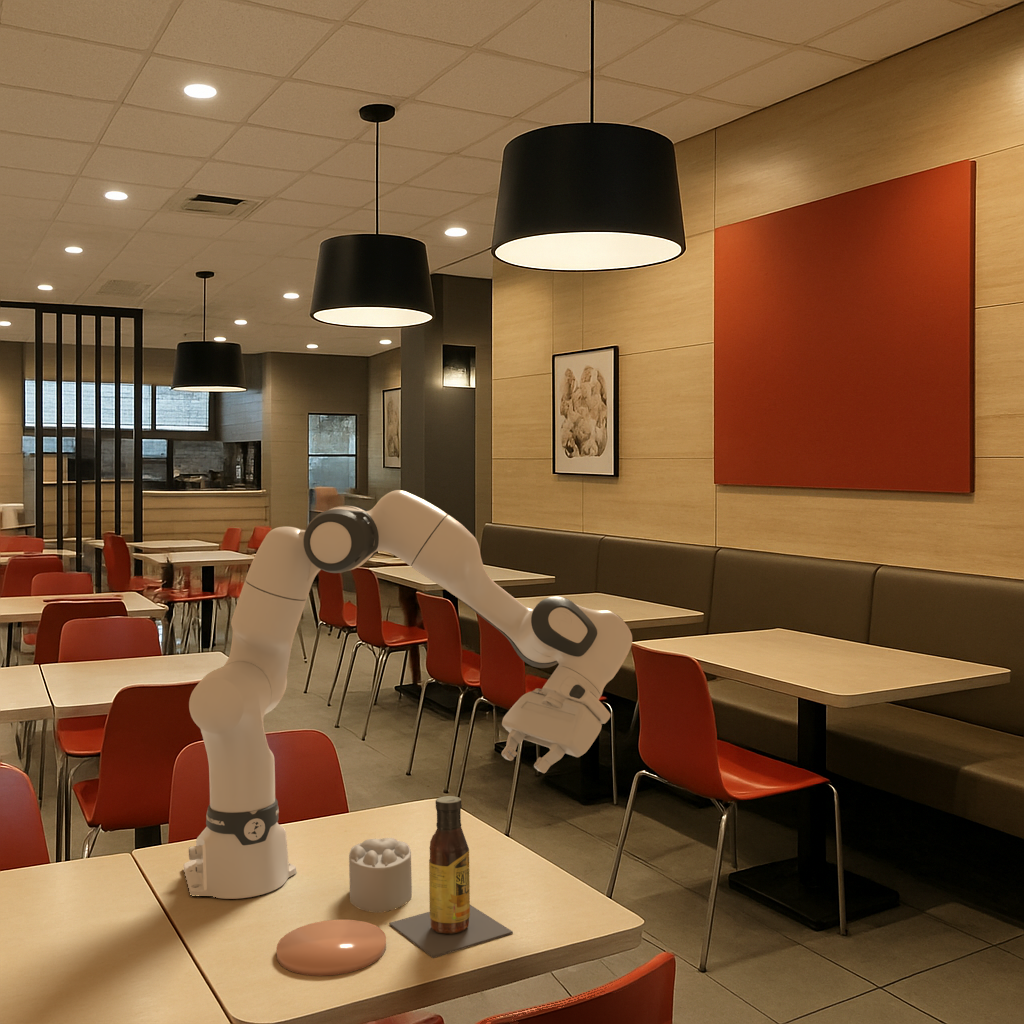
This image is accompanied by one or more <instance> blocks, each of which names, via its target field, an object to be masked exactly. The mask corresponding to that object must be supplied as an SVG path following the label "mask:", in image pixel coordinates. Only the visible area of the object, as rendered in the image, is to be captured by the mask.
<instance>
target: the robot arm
mask: <svg viewBox="0 0 1024 1024" xmlns="http://www.w3.org/2000/svg"><path fill="white" fill-rule="evenodd" d="M377 552H386V553H389V554H391V555H392V556H395V557H396V558H398V559H400V560H401V561H402V562H404V563H405V564H407V566H409V567H411V568H412V569H413V570H415V571H417V572H418V573H420V574H421V575H423V576H424V577H425V578H427V579H429V580H430V581H431V582H433V583H435V584H437V585H438V586H440V587H441V588H443V589H445V591H447V592H449V593H450V594H451V595H453V596H455V598H457V599H458V600H460V601H461V602H462V603H463V604H465V605H466V606H467V607H468V608H469V609H471V611H474V612H475V613H476V614H478V616H480V617H481V618H482V619H484V621H486V622H487V623H489V624H490V625H491V626H493V627H494V628H495V629H496V630H497V631H499V632H500V633H501V634H502V635H503V636H504V637H505V638H506V639H507V640H508V642H509V643H510V645H511V646H512V648H513V650H514V651H515V652H516V654H517V656H518V657H519V658H520V659H521V660H522V661H523V662H524V663H526V664H528V665H529V666H531V667H534V668H539V669H547V668H551V667H554V666H556V665H557V664H558V665H557V667H556V668H555V670H554V671H553V672H552V674H551V675H550V677H549V678H548V679H547V681H546V682H545V683H544V685H543V687H542V688H535V689H533V690H532V691H528V692H526V693H524V694H523V695H521V696H520V697H519V698H518V700H516V702H515V703H514V704H513V705H512V707H510V709H509V710H508V711H507V712H506V713H505V715H504V716H503V717H502V721H501V726H502V727H503V728H504V729H505V730H506V732H508V736H507V740H506V744H505V745H506V746H504V749H503V750H502V751H501V756H502V757H503V759H505V760H507V761H510V762H511V761H512V762H513V761H514V760H515V757H517V755H518V752H517V751H516V750H517V747H518V745H519V744H522V742H523V741H526V742H531V743H533V744H537V745H539V746H542V747H546V748H548V749H549V751H548V752H547V753H546V754H545V755H543V756H542V757H541V756H538V758H537V759H536V761H535V762H534V764H533V768H534V769H535V770H537V771H538V772H540V773H542V774H545V773H547V771H548V770H549V769H550V767H551V766H553V765H554V764H555V763H557V762H558V761H560V760H561V759H562V758H563V757H564V755H565V754H566V755H569V756H572V757H575V758H580V757H581V756H583V755H584V754H586V753H587V752H588V750H590V748H591V746H592V745H593V743H594V742H595V741H596V739H597V738H598V736H599V734H600V732H601V731H602V726H603V724H604V725H605V724H606V723H608V721H609V720H610V718H611V716H612V714H611V712H610V711H609V710H608V709H607V708H606V707H605V705H604V704H603V703H602V702H601V701H600V698H601V697H602V695H603V693H604V688H605V687H606V685H607V684H608V683H609V682H610V681H612V680H613V679H614V677H615V676H616V674H617V673H618V672H619V670H620V669H621V667H622V665H623V664H624V662H625V660H626V658H627V657H628V654H629V653H630V650H631V648H632V645H633V634H632V632H631V630H630V627H629V626H628V624H627V623H626V622H625V621H624V619H623V618H622V617H621V616H619V615H618V614H616V613H615V612H613V611H611V610H607V609H600V610H599V609H593V608H588V607H585V606H582V605H579V604H577V603H574V602H573V601H572V600H570V599H568V598H566V597H563V596H556V595H555V596H549V597H546V598H544V599H542V600H540V601H539V602H538V603H537V604H536V605H535V606H534V607H533V608H530V607H527V606H525V604H523V603H521V602H520V601H519V600H517V598H515V597H514V596H512V594H510V593H508V592H507V591H506V590H505V589H503V587H501V586H500V585H498V584H497V583H496V582H495V581H494V580H493V579H492V578H491V577H490V576H489V573H487V571H486V568H485V566H484V563H483V559H482V555H481V550H480V545H479V543H478V539H477V538H476V537H475V536H474V534H473V533H471V532H470V531H469V530H468V529H467V528H466V527H465V525H463V524H462V523H461V522H459V521H458V520H456V518H454V517H453V516H452V515H450V514H448V512H447V513H446V512H445V511H444V510H442V509H441V508H439V507H437V506H436V505H435V504H432V503H431V502H429V501H427V500H426V499H423V498H421V497H419V496H417V495H415V494H413V493H410V492H408V491H406V490H401V489H395V490H392V491H390V492H387V493H386V494H384V495H383V496H382V497H381V498H380V499H379V500H378V501H377V503H376V504H375V505H374V506H373V507H372V508H371V509H369V510H368V509H366V508H364V507H361V506H357V505H338V506H335V507H331V508H330V509H327V510H324V511H322V512H320V513H318V514H317V515H315V516H314V517H313V518H312V519H311V520H310V522H309V523H308V525H307V526H306V528H305V529H302V528H298V527H295V526H279V527H278V526H277V527H275V528H273V529H271V530H269V531H268V532H267V534H266V535H265V537H264V538H263V540H262V541H261V543H260V546H259V547H258V549H257V551H256V553H255V555H254V557H253V558H252V559H253V560H252V561H251V564H250V566H249V568H248V571H247V574H246V577H245V580H244V581H243V584H242V588H241V591H240V593H239V597H238V600H237V603H236V606H235V608H234V611H233V615H232V617H231V621H230V622H231V625H230V626H231V628H232V636H231V637H232V638H231V646H230V652H229V655H228V658H227V660H226V662H225V663H224V664H223V666H221V667H218V668H216V669H214V670H211V671H209V672H208V673H207V674H206V675H205V676H203V678H202V679H201V680H200V681H199V682H198V683H197V685H196V686H195V687H194V689H193V690H192V691H191V694H190V697H189V701H188V709H189V713H190V717H191V719H192V721H193V722H194V724H196V726H197V727H198V728H199V729H200V733H201V735H202V740H203V743H204V746H205V747H204V748H205V751H206V754H207V755H206V756H207V761H208V775H209V776H208V777H209V804H208V806H207V811H206V816H205V818H206V820H205V825H206V827H205V828H204V829H203V830H202V831H201V833H200V834H199V835H198V836H197V837H196V840H195V845H193V846H190V847H188V858H189V860H188V861H186V862H185V863H183V868H184V870H183V873H184V872H185V874H184V877H185V876H186V878H185V881H186V880H187V882H186V885H187V884H188V887H187V889H188V888H189V891H188V893H189V892H190V894H191V895H199V896H213V897H212V898H215V897H216V899H217V898H218V899H227V900H229V899H233V900H234V899H246V898H252V897H257V896H260V895H261V896H262V895H265V894H268V893H270V892H274V891H275V890H277V889H279V888H281V887H283V885H285V883H286V882H287V880H288V879H289V878H290V877H292V876H293V875H295V874H297V866H296V865H295V864H292V863H289V862H290V861H289V851H288V850H289V849H288V839H287V831H286V829H285V827H284V826H282V825H281V824H279V822H278V821H279V813H280V811H279V805H278V804H279V801H278V799H277V798H276V771H275V770H276V768H275V767H276V766H275V765H276V763H275V756H274V753H273V751H272V750H271V749H270V746H269V744H268V740H267V736H266V732H265V728H264V727H265V726H264V720H265V719H264V718H265V715H267V714H268V713H270V712H271V711H273V710H274V709H275V708H276V707H277V706H278V705H279V704H280V702H281V700H282V699H283V696H284V695H285V693H286V689H287V685H288V677H287V676H288V671H289V667H290V666H289V665H290V658H291V651H292V647H293V644H294V643H293V642H294V639H295V636H296V632H297V629H298V626H299V625H300V621H301V618H302V614H303V611H304V610H305V606H306V603H307V600H308V597H309V593H310V591H311V588H312V585H313V582H314V580H315V578H316V576H317V575H318V574H319V573H320V572H321V571H324V572H327V573H331V574H341V573H344V572H348V571H352V570H355V569H357V568H359V567H361V566H362V565H364V564H365V563H366V562H368V561H369V560H371V559H372V558H373V557H374V556H375V555H376V554H377Z"/></svg>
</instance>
